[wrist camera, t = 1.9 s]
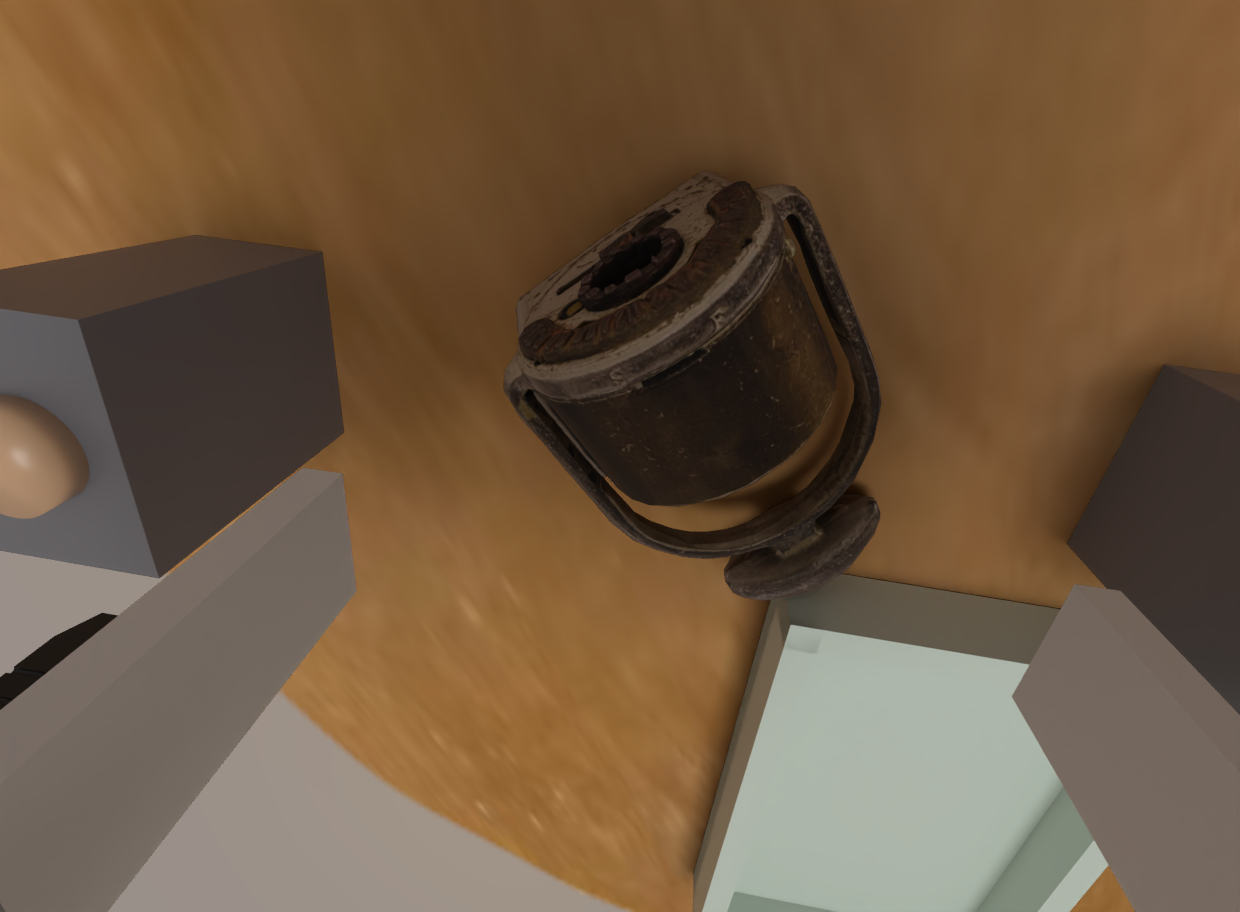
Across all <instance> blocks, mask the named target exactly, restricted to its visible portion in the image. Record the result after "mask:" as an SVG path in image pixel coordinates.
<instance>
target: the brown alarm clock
mask: <svg viewBox="0 0 1240 912" xmlns="http://www.w3.org/2000/svg"><path fill="white" fill-rule="evenodd" d="M785 219H787V221H788V223H789V225H790V227H791V229H792V231H793V233H794V235H795V237H796V239H797V241H798V242H799V244H800V247H801V250H802V253H803V256H804V259H805V262H806V265H807V267H808V270H809V273H810V275H811V278H812V280H813V283H814V285H815V288H816V290H817V293H818V295H819V297H820V300H821V302H822V305H823V307H824V309H825V312H826V314H827V316H828V318H829V321H830V323H831V325H832V327H833V330H834V332H835V334H836V336H837V338H838V340H839V342H840V345H841V347H842V349H843V351H844V353H845V355H846V357H847V359H848V361H849V365H850V369H851V373H852V377H853V382H854V401H853V404H852V407H851V410H850V413H849V416H848V419H847V422H846V425H845V428H844V431H843V434H842V437H841V440H840V442H839V444H838V446H837V448H836V449H835V451H834V453H833V454H832V456H831V458H830V460H829V461H828V462H827V463H826V465H825V466H824V467H823V468H822V470H821V471H820V472H819V473H818V475H817V476H816V477H815V478H814V479H813V480H812V482H811V483H810V484H809V485H808V486H807V487H806V488H805V489H804V490H802V491H801V492H800V493H799V494H797V495H796V496H795V497H794V498H792V499H790V500H787V501H785V502H783V503H781V504H779V505H777V506H775V507H772V508H770V509H768V510H767V511H765V512H764V513H762V514H760V515H759V516H757V517H755V518H754V519H752V520H750V521H749V522H747V523H744V524H741V525H738V526H735V527H732V528H729V529H724V530H716V531H709V532H689V531H683V530H678V529H672V528H669V527H666V526H663V525H661V524H658V523H655V522H652V521H650V520H648V519H646V518H644V517H643V516H641V515H639V514H637V513H636V512H634V511H633V510H632V509H631V508H630V507H629V505H628V504H627V503H626V502H625V501H624V500H623V499H622V498H621V497H620V496H619V495H618V494H617V492H616V491H615V490H614V489H613V488H612V487H611V486H610V485H609V484H608V483H607V481H606V480H605V478H604V477H603V476H608V477H609V478H610V479H611V481H612V482H613V483H614V484H615V485H616V486H617V487H618V489H620V490H621V491H622V492H623V493H625V494H626V495H627V496H629V497H630V498H631V499H633V500H636V501H639V502H642V503H645V504H648V505H657V506H677V507H679V506H684V505H689V504H694V503H699V502H704V501H710V500H715V499H720V498H723V497H725V496H727V495H729V494H732V493H734V492H736V491H738V490H740V489H743V488H745V487H747V486H749V485H751V484H753V483H755V482H757V481H758V480H760V479H761V478H763V477H764V476H765V475H767V474H768V473H770V472H771V471H772V470H774V469H775V468H777V467H778V466H779V465H781V464H782V463H784V462H785V461H786V460H788V459H789V458H790V457H791V456H793V455H794V454H795V453H796V452H798V451H799V450H800V449H801V448H802V447H803V445H804V444H805V443H806V441H807V440H808V439H809V438H810V436H811V435H812V434H813V433H814V431H815V430H816V429H817V428H818V426H819V425H820V424H821V422H822V421H823V419H824V417H825V415H826V413H827V412H828V410H829V408H830V406H831V404H832V402H833V398H834V393H835V389H836V378H837V366H836V363H835V361H834V358H833V355H832V352H831V350H830V347H829V344H828V342H827V339H826V337H825V334H824V332H823V330H822V327H821V325H820V323H819V320H818V318H817V315H816V313H815V311H814V308H813V306H812V304H811V301H810V299H809V297H808V294H807V292H806V290H805V287H804V285H803V283H802V280H801V278H800V276H799V273H798V271H797V268H796V266H795V264H794V261H793V259H792V257H793V256H794V255H795V251H796V247H795V245H794V242H793V240H791V239H788V238H786V235H785V231H784V227H783V222H784V220H785ZM516 313H517V326H518V332H519V342H518V348H517V353H516V354H515V356H514V357H513V359H512V360H511V362H510V363H509V365H508V366H507V368H506V369H505V376H504V391H505V393H506V395H507V396H508V398H509V400H510V401H511V403H512V405H513V406H514V408H515V410H516V411H517V413H518V415H519V416H520V418H521V419H522V420H523V421H524V422H525V423H526V424H527V426H528V427H529V428H530V429H531V430H532V431H533V432H534V433H535V434H536V435H537V436H538V438H539V439H540V440H541V441H542V442H543V443H544V444H545V445H546V447H547V448H548V449H549V450H550V451H551V453H552V454H553V455H554V456H555V458H556V459H557V460H558V461H559V462H560V464H561V465H562V466H563V467H564V469H565V470H566V471H567V472H568V473H569V474H570V476H571V477H572V478H573V479H574V480H575V481H576V482H577V484H578V485H579V486H580V487H581V488H582V489H583V490H584V492H585V493H586V494H587V495H588V496H589V497H590V498H591V500H592V501H593V502H594V503H595V504H596V505H597V506H598V508H599V509H600V510H601V511H602V512H603V513H604V515H605V516H606V517H607V518H608V519H609V521H610V522H611V523H613V524H614V525H615V526H616V527H618V528H619V529H620V530H621V531H622V532H624V533H625V534H626V535H627V536H629V537H630V538H631V539H632V540H634V541H636V542H639V543H641V544H643V545H646V546H648V547H651V548H653V549H656V550H659V551H663V552H666V553H670V554H674V555H678V556H681V557H689V558H701V559H709V558H720V557H727V556H732V557H731V558H730V560H729V562H728V564H727V565H726V567H725V569H724V575H725V581H726V583H727V584H728V586H729V587H730V589H731V590H732V592H733V593H735V594H737V595H739V596H741V597H743V598H750V599H757V600H763V601H764V600H773V599H781V598H790V597H794V596H797V595H800V594H804V593H807V592H810V591H814V590H817V589H819V588H821V587H822V586H824V585H825V584H827V583H828V582H830V581H832V580H833V579H835V578H836V577H838V576H839V575H841V574H842V573H843V572H844V571H846V570H847V569H848V568H849V567H850V566H851V565H852V564H853V562H854V561H855V560H856V558H857V557H858V556H859V554H860V553H861V551H862V550H863V549H864V547H865V546H866V545H867V543H868V542H869V540H870V539H871V538H872V536H873V535H874V534H875V531H876V528H877V525H878V522H879V519H880V511H879V508H878V505H877V502H876V501H875V500H874V498H873V497H867V496H862V495H856V494H846V495H842V494H843V493H844V492H845V490H846V489H847V488H848V487H849V486H850V485H851V484H852V483H853V481H854V479H855V477H856V475H857V473H858V471H859V469H860V467H861V465H862V463H863V461H864V459H865V457H866V455H867V453H868V451H869V449H870V446H871V444H872V442H873V440H874V435H875V431H876V426H877V421H878V417H879V412H880V407H881V395H880V385H879V377H878V374H877V370H876V367H875V363H874V360H873V356H872V353H871V351H870V348H869V346H868V343H867V341H866V338H865V336H864V333H863V330H862V328H861V325H860V323H859V320H858V318H857V315H856V312H855V310H854V307H853V305H852V302H851V300H850V297H849V294H848V292H847V289H846V287H845V284H844V282H843V279H842V276H841V274H840V271H839V269H838V266H837V264H836V262H835V259H834V257H833V255H832V252H831V250H830V247H829V245H828V243H827V240H826V238H825V235H824V233H823V231H822V228H821V226H820V224H819V221H818V219H817V217H816V214H815V212H814V210H813V207H812V205H811V203H810V201H809V200H808V199H807V198H806V197H805V196H804V195H803V194H802V193H801V192H800V191H799V190H798V189H797V188H796V187H795V186H789V185H783V184H776V185H770V186H764V187H761V188H758V189H755V190H754V189H752V188H751V186H750V184H749V183H747V182H746V181H740V182H736V183H732V182H730V181H728V180H726V179H724V178H722V177H720V176H719V175H717V174H715V173H712V172H707V171H702V172H701V173H699V174H697V175H695V176H694V177H692V178H691V179H689V180H688V181H687V182H685V183H684V184H682V185H681V186H679V187H678V188H676V189H675V190H673V191H672V192H671V193H669V194H668V195H666V196H665V197H663V198H662V199H660V200H659V201H657V202H656V203H654V204H653V205H651V206H650V207H648V208H646V209H645V210H643V211H642V212H640V213H639V214H637V215H635V216H634V217H632V218H631V219H629V220H628V221H626V222H625V223H623V224H622V225H620V226H619V227H618V228H616V229H615V230H613V231H612V232H610V233H609V234H608V235H606V236H605V237H603V238H602V239H600V240H599V241H598V242H596V243H595V244H593V245H592V246H591V247H589V248H588V249H587V250H585V251H584V252H582V253H581V254H580V255H578V256H577V257H575V258H574V259H573V260H571V261H570V262H569V263H567V264H566V265H564V266H563V267H562V268H560V269H559V270H558V271H556V272H555V273H553V274H552V275H551V276H549V277H548V278H547V279H545V280H544V281H542V282H541V283H540V284H538V285H537V286H536V287H534V288H533V289H531V290H530V291H529V292H527V293H526V294H525V295H523V296H522V297H520V298H519V300H518V304H517V307H516Z"/></svg>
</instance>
